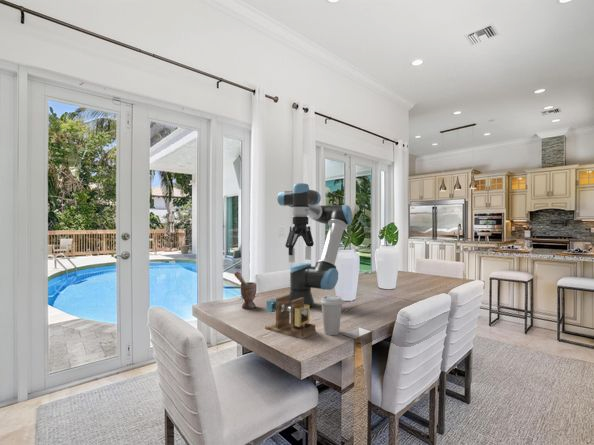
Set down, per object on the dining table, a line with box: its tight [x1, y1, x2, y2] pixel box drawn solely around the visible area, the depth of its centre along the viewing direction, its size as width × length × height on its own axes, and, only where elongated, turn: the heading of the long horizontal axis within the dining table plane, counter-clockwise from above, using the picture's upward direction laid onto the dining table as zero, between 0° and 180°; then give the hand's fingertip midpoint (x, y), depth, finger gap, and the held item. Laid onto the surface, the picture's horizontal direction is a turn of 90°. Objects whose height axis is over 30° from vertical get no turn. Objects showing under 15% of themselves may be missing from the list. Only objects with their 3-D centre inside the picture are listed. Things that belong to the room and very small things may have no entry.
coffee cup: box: [320, 294, 344, 336], centre depth 132 cm, size 10×10×15 cm
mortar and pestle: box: [234, 271, 257, 310], centre depth 169 cm, size 12×9×20 cm
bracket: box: [264, 294, 317, 340], centre depth 135 cm, size 20×10×14 cm, turn 54°
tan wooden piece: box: [295, 304, 311, 327], centre depth 131 cm, size 2×7×7 cm, turn 144°
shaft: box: [266, 298, 308, 316], centre depth 136 cm, size 20×5×5 cm, turn 54°
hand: (300, 261), depth 148 cm, fingers open, 13 cm apart
